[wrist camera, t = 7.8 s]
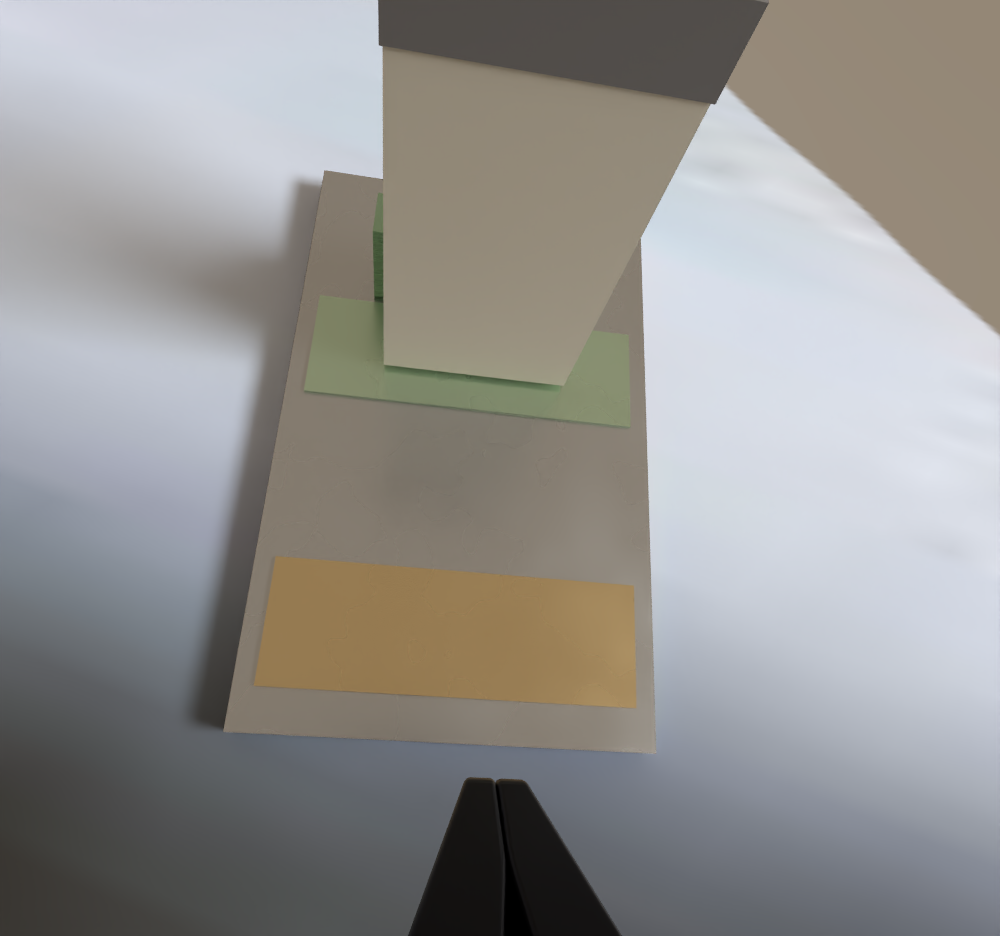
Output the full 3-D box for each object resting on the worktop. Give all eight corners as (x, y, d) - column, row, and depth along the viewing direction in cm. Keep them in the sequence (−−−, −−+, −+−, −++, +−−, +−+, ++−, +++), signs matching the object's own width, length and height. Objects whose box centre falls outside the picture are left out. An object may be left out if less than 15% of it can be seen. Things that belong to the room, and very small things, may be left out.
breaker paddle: (565, 387, 19) (768, 2, 9) (381, 366, 19) (378, -75, 8) (566, 323, 20) (755, -100, 10) (389, 300, 19) (395, -177, 9)
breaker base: (644, 752, 17) (710, 758, 14) (230, 731, 16) (187, 732, 13) (631, 234, 23) (676, 145, 20) (326, 189, 22) (315, 85, 18)
